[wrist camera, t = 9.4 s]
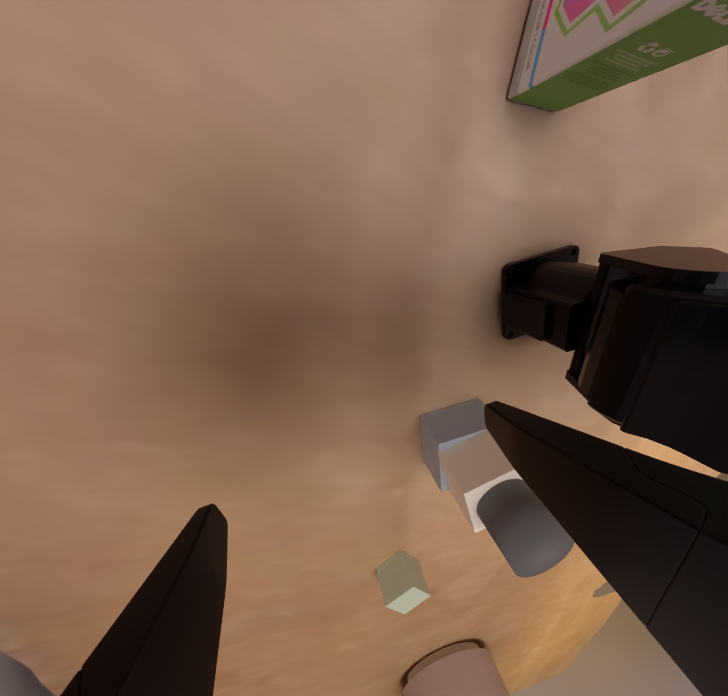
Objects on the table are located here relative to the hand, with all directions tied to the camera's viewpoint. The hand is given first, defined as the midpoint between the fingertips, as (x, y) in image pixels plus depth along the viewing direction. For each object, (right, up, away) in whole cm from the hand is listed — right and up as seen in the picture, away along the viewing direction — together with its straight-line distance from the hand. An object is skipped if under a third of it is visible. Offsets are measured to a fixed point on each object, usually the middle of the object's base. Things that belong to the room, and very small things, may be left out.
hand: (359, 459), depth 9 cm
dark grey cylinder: (+11, -8, +13) cm, 18 cm away
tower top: (+10, -6, +16) cm, 20 cm away
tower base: (+9, -5, +19) cm, 22 cm away
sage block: (+4, -24, +27) cm, 36 cm away
